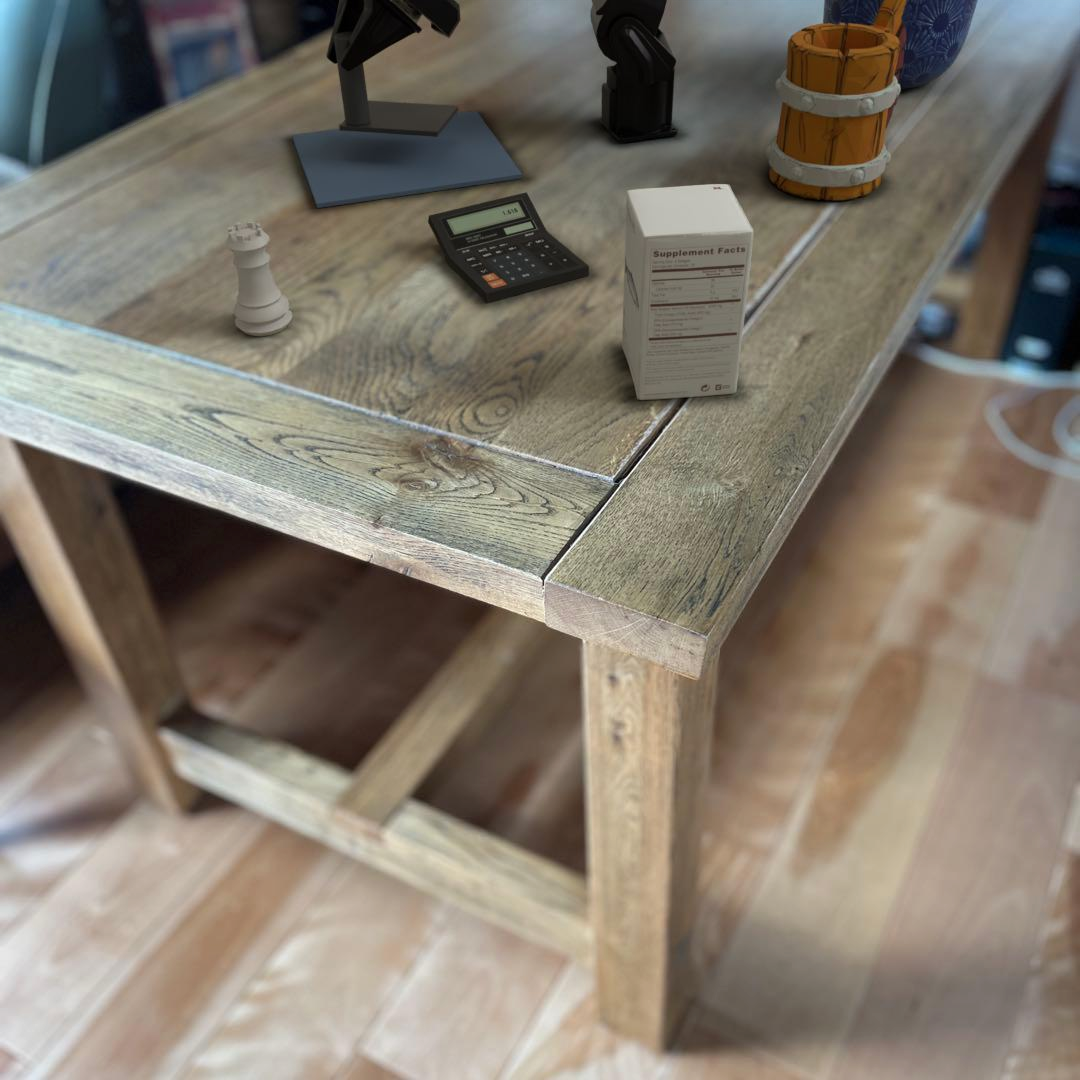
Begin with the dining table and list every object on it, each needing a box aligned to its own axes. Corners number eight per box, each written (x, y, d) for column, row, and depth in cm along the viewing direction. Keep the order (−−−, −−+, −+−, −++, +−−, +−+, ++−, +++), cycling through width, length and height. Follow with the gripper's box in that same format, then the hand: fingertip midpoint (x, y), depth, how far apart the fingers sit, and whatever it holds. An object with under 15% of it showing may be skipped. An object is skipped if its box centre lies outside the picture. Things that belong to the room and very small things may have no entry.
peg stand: (458, 110, 111) (451, 20, 106) (437, 136, 106) (429, 43, 100) (364, 105, 113) (352, 16, 108) (339, 130, 108) (326, 39, 102)
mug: (742, 183, 106) (759, 15, 96) (834, 133, 114) (858, -26, 105) (841, 214, 100) (870, 39, 90) (930, 159, 109) (965, -6, 99)
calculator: (487, 303, 89) (485, 268, 87) (430, 246, 97) (427, 213, 95) (588, 275, 92) (588, 241, 90) (525, 222, 100) (524, 190, 98)
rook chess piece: (303, 314, 88) (286, 219, 83) (275, 342, 85) (256, 245, 80) (254, 306, 90) (234, 212, 84) (225, 333, 86) (202, 237, 81)
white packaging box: (619, 348, 83) (624, 186, 75) (717, 342, 84) (732, 180, 76) (634, 403, 78) (641, 235, 70) (738, 396, 78) (757, 228, 70)
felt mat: (476, 115, 121) (476, 110, 120) (522, 178, 108) (522, 173, 107) (292, 139, 117) (291, 134, 116) (317, 208, 103) (316, 203, 103)
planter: (937, 113, 118) (971, -44, 108) (787, 87, 125) (805, -63, 115) (981, 66, 129) (1015, -81, 119) (840, 45, 135) (861, -96, 125)
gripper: (318, -164, 101) (229, -12, 104) (417, -135, 89) (314, 37, 92) (403, -81, 110) (319, 58, 112) (504, -43, 98) (407, 111, 100)
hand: (336, 64), depth 104 cm, fingers closed on peg stand, 2 cm apart
